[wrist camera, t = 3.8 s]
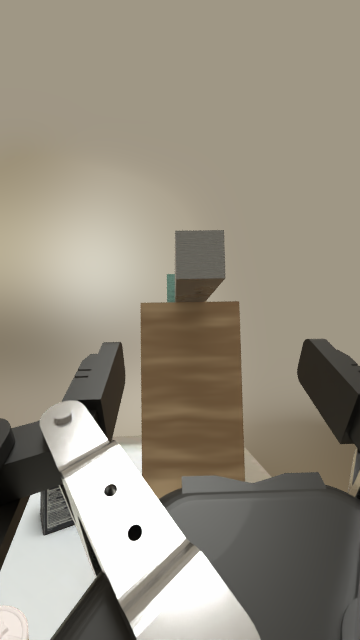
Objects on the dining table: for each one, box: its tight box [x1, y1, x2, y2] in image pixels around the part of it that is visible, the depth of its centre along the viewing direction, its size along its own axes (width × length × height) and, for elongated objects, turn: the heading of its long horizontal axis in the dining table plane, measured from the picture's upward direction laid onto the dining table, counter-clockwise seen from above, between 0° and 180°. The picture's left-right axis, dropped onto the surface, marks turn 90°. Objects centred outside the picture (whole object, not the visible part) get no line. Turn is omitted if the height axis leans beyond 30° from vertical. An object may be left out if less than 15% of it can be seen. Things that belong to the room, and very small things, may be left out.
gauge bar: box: [167, 230, 225, 302], centre depth 30 cm, size 26×6×5 cm, turn 1°
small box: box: [40, 486, 75, 535], centre depth 45 cm, size 11×6×10 cm, turn 121°
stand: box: [141, 301, 245, 499], centre depth 33 cm, size 14×10×32 cm
